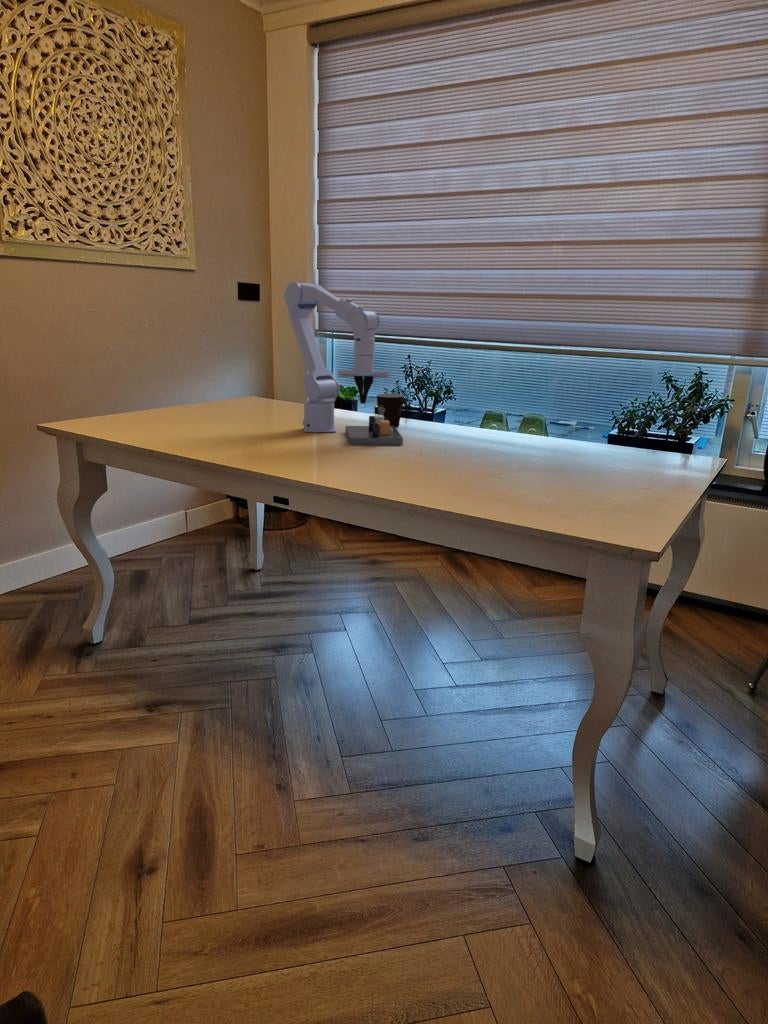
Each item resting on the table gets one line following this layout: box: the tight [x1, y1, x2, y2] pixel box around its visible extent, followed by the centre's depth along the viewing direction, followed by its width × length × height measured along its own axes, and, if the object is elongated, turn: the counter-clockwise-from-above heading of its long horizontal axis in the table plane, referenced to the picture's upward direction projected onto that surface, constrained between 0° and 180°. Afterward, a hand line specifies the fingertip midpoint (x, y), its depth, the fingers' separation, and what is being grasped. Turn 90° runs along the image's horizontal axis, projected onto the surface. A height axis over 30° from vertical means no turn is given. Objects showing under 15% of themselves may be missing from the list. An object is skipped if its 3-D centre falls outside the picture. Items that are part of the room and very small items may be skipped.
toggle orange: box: [380, 420, 390, 435], centre depth 191 cm, size 2×4×4 cm, turn 7°
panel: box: [345, 415, 404, 446], centre depth 194 cm, size 15×18×6 cm
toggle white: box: [374, 414, 384, 423], centre depth 200 cm, size 2×4×4 cm, turn 7°
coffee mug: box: [376, 392, 409, 428], centre depth 211 cm, size 12×9×10 cm
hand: (362, 403), depth 191 cm, fingers closed
